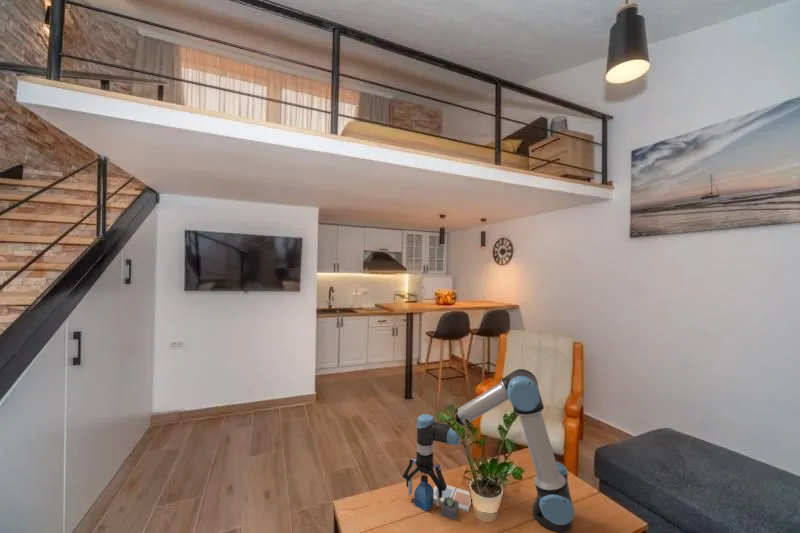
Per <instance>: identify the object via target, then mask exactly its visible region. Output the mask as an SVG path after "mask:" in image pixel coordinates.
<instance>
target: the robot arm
mask: <svg viewBox="0 0 800 533" xmlns="http://www.w3.org/2000/svg"><path fill="white" fill-rule="evenodd" d="M507 401H510V403H511V406H512V408H513V412H514V414H516V415H517V416H518V417H519V419H520V422H521V426H522V429H523V434H524V436H525V440H526V444H527V447H528V449H529V450H528V451H529V454H530V457H531V458H530V459H531V461H532V465H533V468H534V472H535V476H534V478H533V483H534V486H535V489H536V493H537V494H536V497H535V500H534V502H533V505H532V516H533V518H534V520H535V521H536V520H537V521H538V522H539V523H538V522H537V521H536V522H537V523H538V524H539V525H540V526H542V527H543V526H544V527H543V528H546V529H547V530H550V531H552V530H553V531H552V532H555V531H557V532H556V533H565V532H564V531H567V532H568V530H569V531H570V530H571V529H572V527H573V520H574V517H575V506H574V504H573V500H572V495H571V491H570V487H569V482H568V475H569V473H568V468H567V466H565V465H564V464H563V463H561V462H560V461H557V460H556V457H555V454H554V450H553V448H552V444H551V440H550V437H549V434H548V430H547V427H546V423H545V420H544V416H543V414H542V412H543V411H544V409H545V406H544V402H543V400H542V396H541V393H540V389H539V385H538V379H537V378H536V375H534V373H532V372H531V371H530V370H527V369H525V368H519V369H515V370H513V371H512V372H510V373H508V375H506V376H504V377H503V378H501V379H500V382H499V383H498V384H496V385H494V386H493V387H491V388H490V389H487V390H486V391H484V392H483V393H481V394H480V395H478V396H476V397H475V398H473V399H470V401H468V402H466V403H465V404H463V405H462V406H459V407H458V408H457V409H458V413H457V415H456V421H457V422H458V423H459V424H461V425H463V426H462V427H464V426H466V425H467V424H466V421H465V419H467V420H469V423H471V422H472V421H474V420H476V419H478V418H480V417H481V416H483V415H484V414H487V413H488V412H489V411H491V410H493V409H495V408H497V407H498V406H500V405H502V404H503V403H505V402H507ZM416 422H417V423H416V455H415V456H416V458H415V457H414V456H411V458H410V459H409V464H408V466H407V468H406V469H405V472H404V474H403V475H402V478H403V479H406V488H407V496H408V497H411V496H412V493H413V476H415V475H416V474H417V473H418V472H420V473H421V474H424V475H427V476H428V477H429V478H431V480H432V481H433V483H434V486H435V485H436V487H437V488H438V490H437V502H436V507H439V506H440V504H441V503H440V498H441V497H442V493H443V491H445V490H446V488H447V485H448V484H447V483H446V480H445V478H444V475H443V473H442V470H441V466H440V464H437V465H436V464H434V442H439V443H443V444H445V445H450V446H459V445H460V444H461V440H462V438H461V439H460V437H459V435H458V434H457V433H456V432H455V431H453V430H452V428H451V427H450V426H449V425H447V424H445V423H443V422H437V421H435V418H434V416H433V415H430V414H427V413H424V414H420V415H419V416H418V417H417V421H416ZM414 465H415V466H416V467H415V468H414V470H413V471H412V472H410V470H411V468H412V466H414ZM409 472H410V473H409Z"/></svg>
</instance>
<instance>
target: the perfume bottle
mask: <svg viewBox="0 0 800 533" xmlns="http://www.w3.org/2000/svg"><path fill="white" fill-rule="evenodd" d="M413 495H414V496H413V498H414V502H413V503H414V504H413V505H414V506H415V507H417V508H419V509H420V510H422V511H424V512H428V510H429V509H430V508H431V507H432V506H433V505H434V501H433V498H434V487H432V485H431V483H429V476H428V475H427V474H422V475H420V483H419V484H418V485H417V487H416V488H415V489H414V494H413Z"/></svg>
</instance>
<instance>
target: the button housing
mask: <svg viewBox="0 0 800 533" xmlns="http://www.w3.org/2000/svg"><path fill="white" fill-rule="evenodd" d="M440 508H441V509H440V516H441V517H444V518H446V519H449V520H451V521H456V518H457V516H458V513H459V509H458V508H459V502H458V501H455V500H453V508H451V507H448V506H447V498H446V497H445V499H444V501H443V504H441V507H440Z"/></svg>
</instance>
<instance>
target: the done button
mask: <svg viewBox="0 0 800 533" xmlns="http://www.w3.org/2000/svg"><path fill="white" fill-rule="evenodd" d="M447 506H448V507H451V508H453V498H452V497H448V498H447Z"/></svg>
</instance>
